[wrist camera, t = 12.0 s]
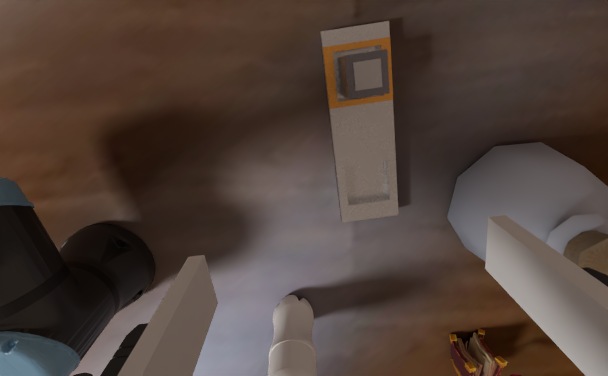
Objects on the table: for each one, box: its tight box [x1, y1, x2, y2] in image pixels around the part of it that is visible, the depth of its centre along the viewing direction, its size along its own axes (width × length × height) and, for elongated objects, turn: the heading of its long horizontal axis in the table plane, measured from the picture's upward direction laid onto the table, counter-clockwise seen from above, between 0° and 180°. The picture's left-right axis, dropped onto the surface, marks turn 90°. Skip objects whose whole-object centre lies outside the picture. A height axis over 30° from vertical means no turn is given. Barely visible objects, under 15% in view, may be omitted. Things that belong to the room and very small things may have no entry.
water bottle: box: [268, 295, 316, 376], centre depth 49 cm, size 7×7×25 cm
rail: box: [320, 21, 399, 222], centre depth 49 cm, size 9×28×3 cm, turn 8°
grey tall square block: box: [337, 49, 390, 99], centre depth 43 cm, size 5×5×8 cm
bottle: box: [447, 142, 608, 275], centre depth 45 cm, size 20×20×19 cm
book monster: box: [449, 329, 521, 376], centre depth 60 cm, size 11×9×12 cm
